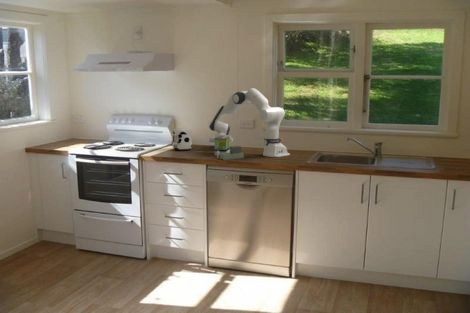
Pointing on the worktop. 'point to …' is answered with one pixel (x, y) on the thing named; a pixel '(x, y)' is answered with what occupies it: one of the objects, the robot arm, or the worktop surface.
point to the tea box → (222, 144)
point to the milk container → (182, 139)
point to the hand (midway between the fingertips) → (221, 141)
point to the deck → (231, 153)
